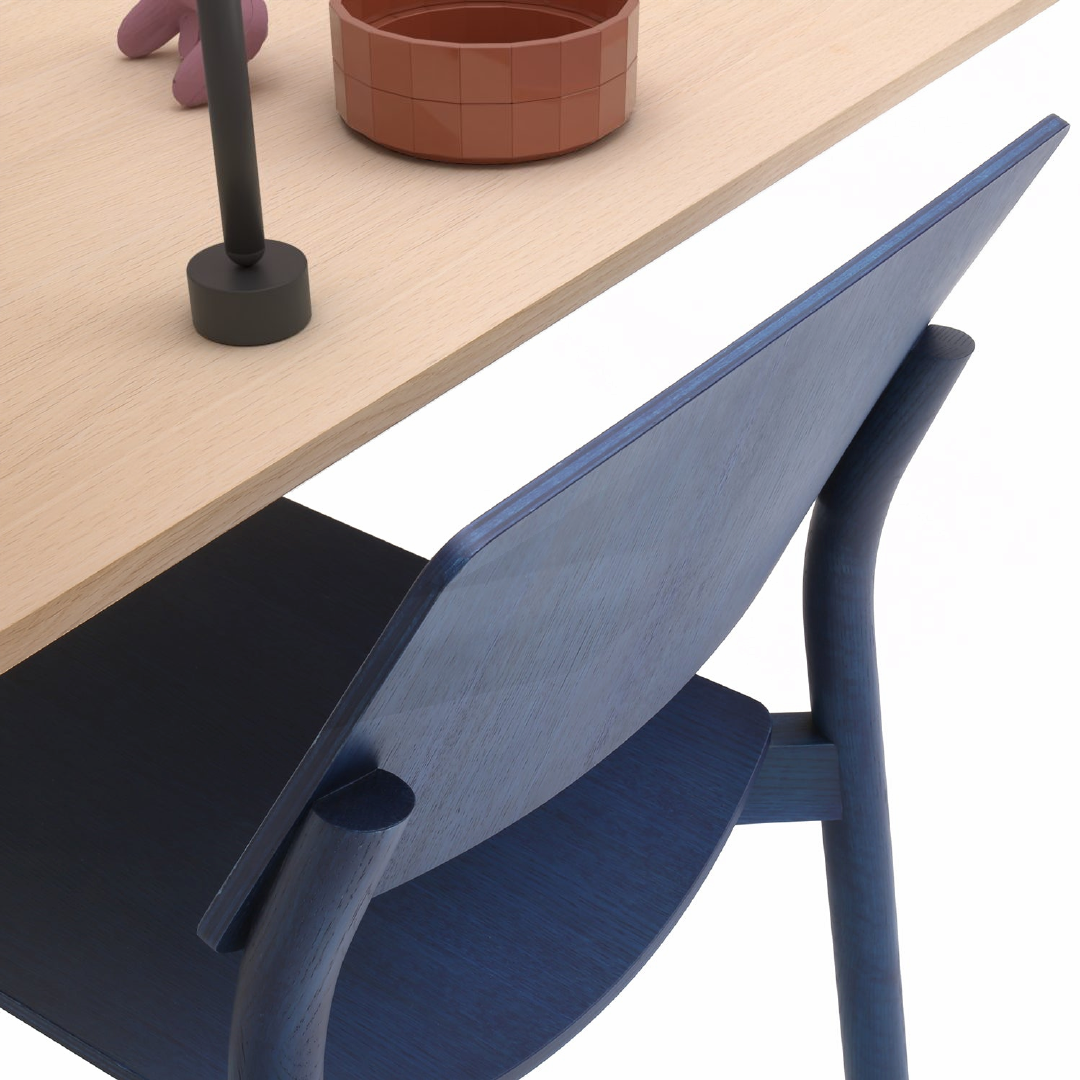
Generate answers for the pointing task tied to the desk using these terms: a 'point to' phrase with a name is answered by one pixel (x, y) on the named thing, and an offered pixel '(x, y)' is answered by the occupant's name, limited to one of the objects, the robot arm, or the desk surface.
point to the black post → (240, 209)
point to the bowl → (484, 75)
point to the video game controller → (184, 39)
